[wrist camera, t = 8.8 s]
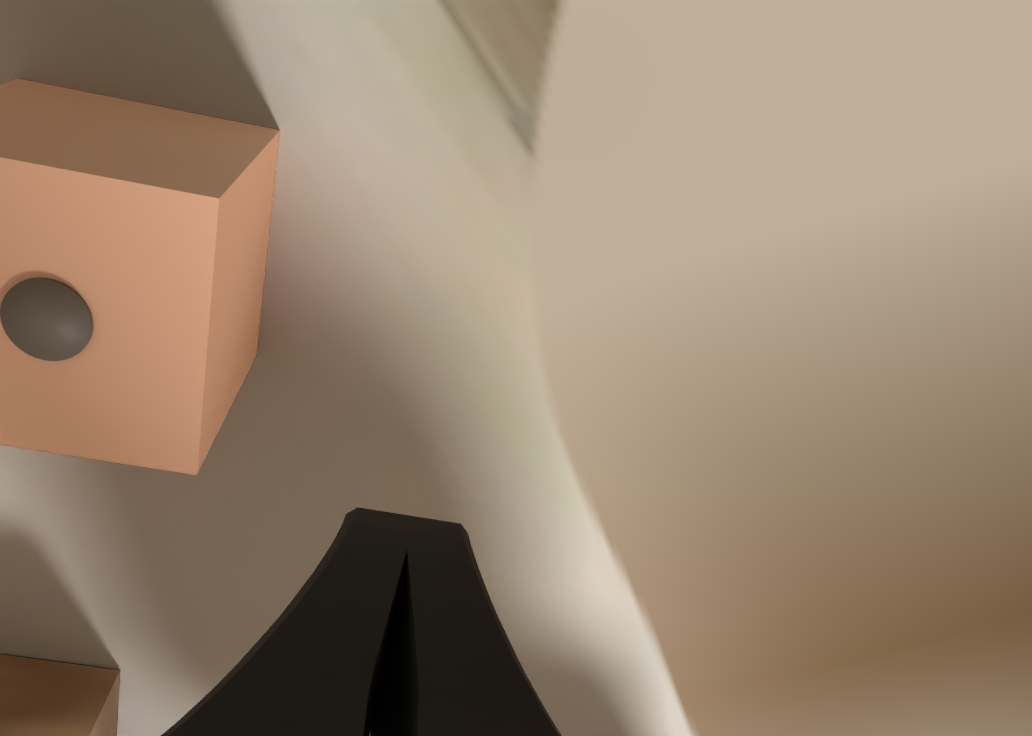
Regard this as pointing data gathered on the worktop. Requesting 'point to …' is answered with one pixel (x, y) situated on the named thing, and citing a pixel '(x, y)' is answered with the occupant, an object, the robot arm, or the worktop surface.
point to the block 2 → (127, 273)
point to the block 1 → (57, 698)
